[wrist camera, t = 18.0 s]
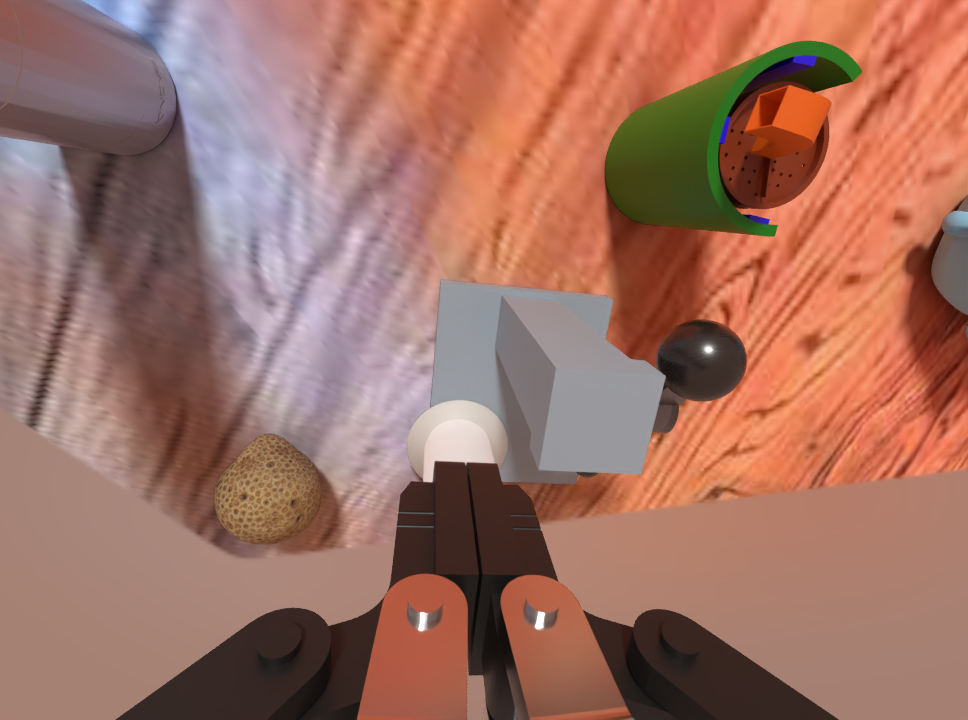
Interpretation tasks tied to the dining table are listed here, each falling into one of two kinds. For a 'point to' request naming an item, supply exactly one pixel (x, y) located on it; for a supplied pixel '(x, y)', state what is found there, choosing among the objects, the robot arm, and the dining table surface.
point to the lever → (695, 368)
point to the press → (538, 383)
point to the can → (456, 445)
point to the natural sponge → (268, 492)
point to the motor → (729, 142)
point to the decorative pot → (953, 260)
